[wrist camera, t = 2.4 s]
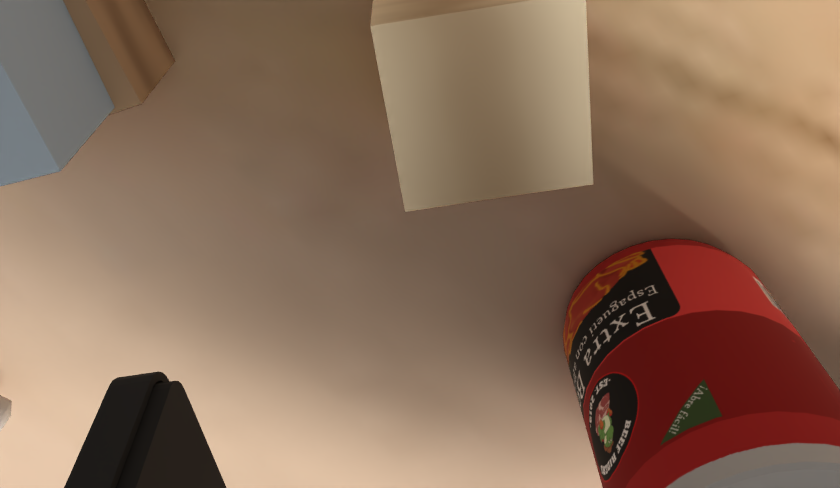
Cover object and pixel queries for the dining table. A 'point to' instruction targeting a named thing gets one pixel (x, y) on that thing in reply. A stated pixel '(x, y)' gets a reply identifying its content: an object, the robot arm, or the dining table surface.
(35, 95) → the tower top block
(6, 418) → the white figure shaped piece
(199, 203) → the dining table surface
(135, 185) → the dining table surface
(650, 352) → the canned food
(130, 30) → the tower base block
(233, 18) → the dining table surface
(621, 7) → the dining table surface
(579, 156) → the maple block
